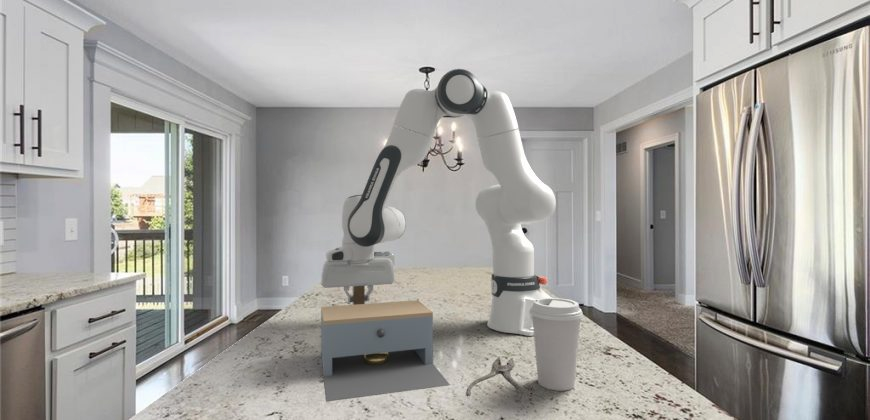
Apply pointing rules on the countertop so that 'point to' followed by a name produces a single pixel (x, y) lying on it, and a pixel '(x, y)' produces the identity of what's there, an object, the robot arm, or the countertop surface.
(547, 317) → the coffee cup
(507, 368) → the pliers
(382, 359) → the token
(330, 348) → the cabinet
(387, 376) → the mat
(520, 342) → the countertop surface
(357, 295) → the sweep tool
